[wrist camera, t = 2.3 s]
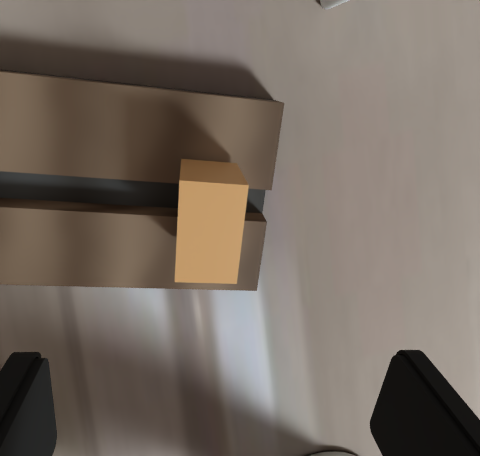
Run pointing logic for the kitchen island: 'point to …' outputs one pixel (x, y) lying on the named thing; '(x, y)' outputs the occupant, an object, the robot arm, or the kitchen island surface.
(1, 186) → the slider console
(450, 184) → the kitchen island surface
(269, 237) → the kitchen island surface
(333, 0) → the container
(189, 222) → the fader tab
